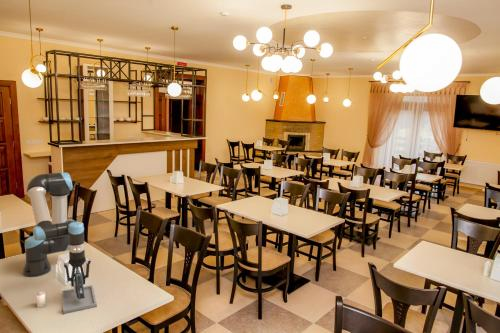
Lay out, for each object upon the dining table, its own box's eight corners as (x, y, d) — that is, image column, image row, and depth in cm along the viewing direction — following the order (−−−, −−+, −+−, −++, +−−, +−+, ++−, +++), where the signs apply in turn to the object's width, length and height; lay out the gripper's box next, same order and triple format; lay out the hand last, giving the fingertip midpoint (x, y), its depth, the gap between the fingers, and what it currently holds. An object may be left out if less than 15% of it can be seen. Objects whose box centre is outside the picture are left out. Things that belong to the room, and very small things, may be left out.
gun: (75, 263, 200) (81, 267, 188) (78, 293, 200) (85, 298, 188) (69, 265, 198) (76, 268, 187) (73, 294, 198) (79, 299, 186)
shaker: (37, 305, 188) (36, 290, 186) (45, 303, 190) (44, 288, 188) (36, 309, 184) (36, 294, 183) (45, 307, 186) (44, 292, 185)
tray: (62, 293, 200) (61, 290, 199) (92, 287, 207) (92, 285, 207) (63, 314, 181) (63, 311, 181) (96, 306, 189) (96, 303, 188)
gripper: (60, 255, 182) (62, 297, 186) (93, 250, 190) (95, 290, 194) (59, 250, 188) (61, 290, 192) (92, 245, 196) (93, 284, 200)
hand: (78, 290), depth 193 cm, fingers closed on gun, 3 cm apart
